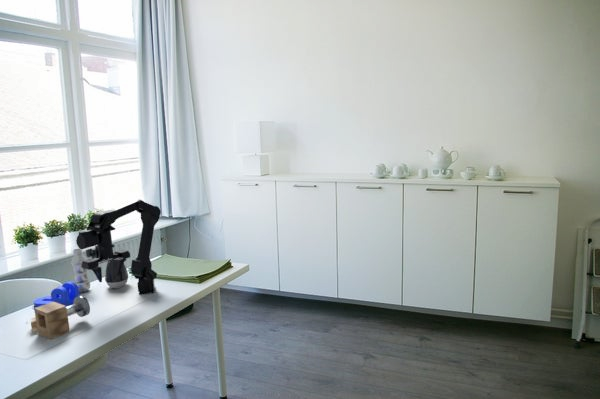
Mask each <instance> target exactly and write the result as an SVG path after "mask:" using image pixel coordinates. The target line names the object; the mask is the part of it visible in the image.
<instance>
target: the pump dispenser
mask: <svg viewBox="0 0 600 399" xmlns="http://www.w3.org/2000/svg"><path fill="white" fill-rule="evenodd" d="M128 279H129V273H128V269H127V266H126V264H125V263H124V264H123V266H122V268H121V271H120V274H119V276H118V277H117V276H116V272H115V263H114V261H113V260H110V261H107V262H106V266H105V270H104V281H105V283H106V284H107V286H109V288H112V289H118V288H119V289H120V288H122V287H124V286H125V285H126V284H127V283H128Z"/></svg>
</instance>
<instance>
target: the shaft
mask: <svg viewBox="0 0 600 399" xmlns="http://www.w3.org/2000/svg"><path fill="white" fill-rule="evenodd" d="M66 308H67V315H68V317H69V316H73V315H75V314H77V316H78V317H80V318H83V317H87V316H88V315H90V312H91V307H90V303H89V301H88V299H87V298H86V296H84V295H81V294H80V295H79V296H78V297H75V298H74V301H73V305H70V306H67V307H66Z"/></svg>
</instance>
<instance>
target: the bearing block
mask: <svg viewBox="0 0 600 399" xmlns="http://www.w3.org/2000/svg"><path fill="white" fill-rule="evenodd" d="M33 311H34V314H35V315H34V316H35V317H36V323H37V329H38V331H37V334H38V335H40V336H42V337H44V338H46V339H49V340H53V339H56V338H57V337H60V336H62V335H65V334H67V333H69V332H71V330H70V323H69V316H68V315H67V308H66V306H65V305H62V304H59V303H56V302H51V303H48V304H45V305H42V306H39V307H34V309H33ZM35 317H34V318H35Z"/></svg>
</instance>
